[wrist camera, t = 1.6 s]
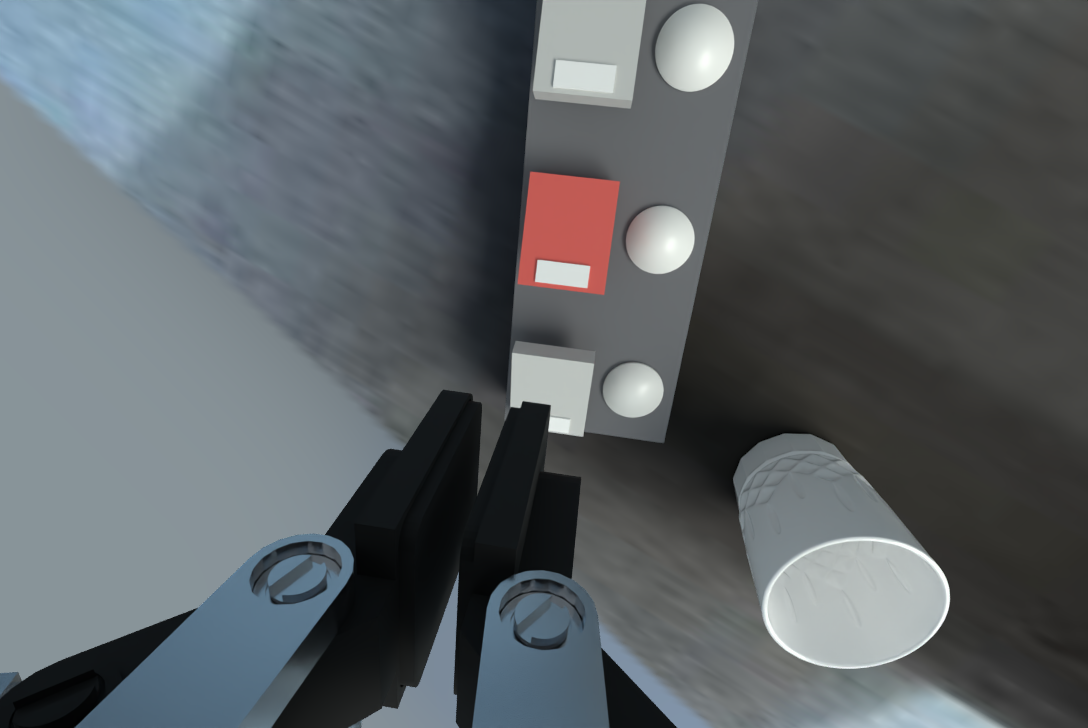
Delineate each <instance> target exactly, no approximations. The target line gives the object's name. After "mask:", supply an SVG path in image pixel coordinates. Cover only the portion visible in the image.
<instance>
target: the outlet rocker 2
mask: <svg viewBox="0 0 1088 728" xmlns="http://www.w3.org/2000/svg"><path fill="white" fill-rule="evenodd" d="M619 185H620V181H611V180H602V179H593V178H584V177H575V176H566V175H557V174H548V173H539V172H530V179H529V188H528V197H527V205H526V214H525V223H524V231H523V240H522V249H521V257H520V266H519V275H518V284H521V285H529V286H537V287H545V288H553V289H561V290H569V291H577V292H585V293H593V294H601V295H604V293H605V286H606V278H607V271H608V264H609V257H610V250H611V242H612V235H613V228H614V221H615V214H616V206H617V199H618V192H619Z"/></svg>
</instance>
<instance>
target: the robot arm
mask: <svg viewBox="0 0 1088 728" xmlns="http://www.w3.org/2000/svg"><path fill="white" fill-rule="evenodd" d="M550 412H551V405H548V404H541V403H534V402H526V401H523V402H522V404H521V407H520V408H516V407H511V408H510V410H509V413H508V415H507V418H506V421H505V423H504V426H503V429H502V431H501V434H500V437H499V439H498V442H497V445H496V447H495V450H494V453H493V455H492V458H491V461H490V463H489V466H488V469H487V471H486V474H485V477H484V479H483V482H482V485H481V487H480V490H479V493H478V495H477V486H478V468H479V451H480V434H481V416H482V404H481V402H474V401H473V396H472V394H470V393H462V392H455V391H448V390H443V391H442V392H441V393H440V394H439V396H438V397H437V399H436V401H435V402H434V404H433V405H432V407H431V408H430V410H429V411H428V413H427V414H426V416H425V417H424V419H423V420H422V422H421V423H420V425H419V426H418V428H417V429H416V431H415V432H414V434H413V435H412V437H411V438H410V440H409V441H408V443H407V444H406V446H405V447H404V449H403V450H395V449H388V450H386V451H385V452H384V453H383V454H382V456H381V457H380V459H379V460H378V462H377V463H376V464H375V466H374V467H373V468H372V470H371V471H370V473H369V474H368V475H367V477H366V478H365V480H364V481H363V483H362V484H361V485H360V487H359V488H358V489H357V491H356V492H355V494H354V495H353V496H352V498H351V499H350V501H349V502H348V503H347V505H346V506H345V508H344V509H343V510H342V512H341V513H340V514H339V516H338V517H337V519H336V520H335V522H334V523H333V524H332V526H331V527H330V528H329V530H328V531H327V533H326V534H325V535H320V534H303V535H295V536H291V537H288V538H284V539H280V540H278V541H276V542H274V543H272V544H270V545H268V546H266V547H263V548H262V549H261V550H260V551H258V552H257V553H256V554H254V555H253V556H252V557H250V558H249V559H248V560H247V561H246V562H245V563H244V564H243V565H242V566H241V567H240V568H239V569H238V570H237V571H236V572H235V573H234V574H233V575H232V576H231V577H230V578H229V579H228V580H226V582H225V583H223V584H222V585H221V586H220V587H219V588H218V589H217V590H216V591H215V592H214V593H213V594H212V595H211V596H210V597H209V598H208V599H207V600H206V601H205V602H204V603H203V604H202V605H201V606H200V607H199V608H196V609H193V610H191V611H188V612H186V613H183V614H181V615H178V616H175V617H173V618H170V619H167V620H165V621H162V622H160V623H157V624H154V625H152V626H149V627H147V628H144V629H141V630H139V631H136V632H134V633H131V634H128V635H126V636H123V637H121V638H118V639H116V640H113V641H110V642H107V643H105V644H102V645H100V646H97V647H94V648H92V649H89V650H87V651H84V652H81V653H79V654H76V655H74V656H71V657H68V658H66V659H63V660H61V661H58V662H56V663H54V664H52V665H50V666H48V667H46V668H44V669H42V670H40V671H37V672H35V673H34V674H33V675H31V676H29V677H28V678H26V679H25V680H23V681H21V678H20V676H19V673H18V672H12V673H0V728H361V726H362V719H364V718H366V717H368V716H369V715H371V714H373V713H374V712H376V711H378V710H380V709H382V706H385V707H391V708H397V709H398V707H399V704H400V701H401V698H402V696H403V693H404V691H405V688H406V686H411V687H417V686H418V684H419V682H420V679H421V677H422V674H423V671H424V668H425V666H426V663H427V660H428V657H429V654H430V651H431V649H432V646H433V643H434V640H435V637H436V634H437V632H438V629H439V626H440V623H441V620H442V617H443V615H444V612H445V609H446V606H447V603H448V600H449V598H450V595H451V592H452V589H453V586H454V583H455V581H456V578H457V575H458V572H459V583H458V606H457V628H456V650H455V673H454V694H455V695H457V710H456V711H457V712H456V723H457V725H458V726H459V728H677V727H676V726H675V725H674V724H673V723H672V722H671V721H670V720H669V719H668V718H667V717H666V716H665V714H663V712H662V711H661V710H660V709H659V708H658V707H657V706H656V705H655V704H654V703H653V702H652V701H651V700H650V699H649V698H648V697H647V696H646V694H644V692H643V691H642V690H641V689H640V688H639V687H638V686H637V685H636V684H635V683H634V682H633V681H632V680H631V679H630V678H629V676H628V675H627V674H626V673H625V672H624V671H623V670H622V669H621V668H620V667H619V666H618V665H617V664H616V663H615V662H614V661H613V660H612V659H611V657H610V656H609V655H608V654H607V653H606V652H605V651H604V650H603V649H602V648H601V642H600V632H599V622H598V615H597V611H596V608H595V604H594V602H593V600H592V599H591V597H590V596H589V594H588V593H587V592H586V590H585V589H584V588H582V587H581V586H580V585H579V584H578V583H576V582H575V581H574V580H572V569H573V558H574V548H575V537H576V527H577V516H578V506H579V495H580V485H581V477H576V476H569V475H562V474H556V473H549V472H544V464H545V456H546V447H547V438H548V429H549V421H550Z"/></svg>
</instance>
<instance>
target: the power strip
mask: <svg viewBox="0 0 1088 728" xmlns="http://www.w3.org/2000/svg"><path fill="white" fill-rule="evenodd" d="M542 4H543V0H537V4H536V17H535V30H534V43H533V56H532V69H531V82H530V95H529V108H528V121H527V134H526V147H525V160H524V173H523V186H522V199H521V212H520V225H519V238H518V251H517V264H516V277H515V290H514V303H513V316H512V329H511V342H510V355H509V368H508V381H507V394H506V407H505V420H506V418H507V415H508V413H509V410H510V399H511V369H512V351H513V348H514V345H515V341H521V342H528V343H536V344H543V345H551V346H558V347H566V348H573V349H581V350H588V351H596V352H595V361H594V369H593V375H592V382H591V388H590V395H589V401H588V408H587V414H586V421H585V428H584V432H590V433H597V434H604V435H611V436H618V437H625V438H631V439H638V440H645V441H652V442H659V443H664V440H665V435H666V431H667V426H668V421H669V417H670V412H671V407H672V403H673V398H674V393H675V388H676V384H677V379H678V374H679V370H680V365H681V360H682V356H683V351H684V346H685V342H686V337H687V332H688V328H689V323H690V318H691V314H692V309H693V304H694V300H695V295H696V290H697V285H698V281H699V276H700V271H701V267H702V262H703V257H704V253H705V248H706V243H707V239H708V234H709V229H710V225H711V220H712V215H713V211H714V206H715V201H716V197H717V192H718V187H719V182H720V178H721V173H722V168H723V164H724V159H725V154H726V150H727V145H728V140H729V136H730V131H731V126H732V122H733V117H734V112H735V108H736V103H737V98H738V94H739V89H740V84H741V79H742V75H743V70H744V65H745V61H746V56H747V51H748V47H749V42H750V37H751V33H752V28H753V23H754V19H755V14H756V9H757V5H758V0H646V6H645V13H644V20H643V28H642V35H641V42H640V49H639V56H638V64H637V71H636V78H635V85H634V92H633V99H632V105H631V109H628V108H618V107H608V106H599V105H589V104H579V103H569V102H559V101H550V100H540V99H535V97H534V93H533V83H534V75H535V66H536V57H537V48H538V39H539V31H540V22H541V13H542ZM530 172H539V173H548V174H557V175H566V176H575V177H584V178H593V179H602V180H611V181H620V185H619V192H618V199H617V206H616V214H615V221H614V228H613V235H612V242H611V250H610V257H609V264H608V271H607V278H606V286H605V293H604V295H601V294H593V293H585V292H577V291H569V290H561V289H553V288H545V287H537V286H529V285H521V284H518V275H519V266H520V257H521V249H522V240H523V231H524V223H525V214H526V205H527V197H528V188H529V179H530Z"/></svg>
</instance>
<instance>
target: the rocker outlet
mask: <svg viewBox="0 0 1088 728" xmlns="http://www.w3.org/2000/svg"><path fill="white" fill-rule="evenodd" d="M595 352H596V351H588V350H581V349H573V348H566V347H558V346H551V345H543V344H536V343H528V342H521V341H515V345H514V348H513V351H512V369H511V399H510V408H511V407H516V408H520V407H521V404H522V402H523V401H526V402H534V403H541V404H548V405H551V412H550V421H549V429H548V432H554V433H561V434H568V435H575V436H582V437H583V434H584V428H585V421H586V414H587V408H588V401H589V395H590V388H591V382H592V375H593V369H594V361H595Z"/></svg>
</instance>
